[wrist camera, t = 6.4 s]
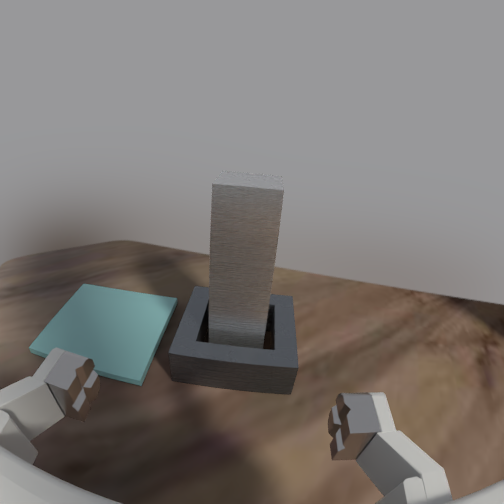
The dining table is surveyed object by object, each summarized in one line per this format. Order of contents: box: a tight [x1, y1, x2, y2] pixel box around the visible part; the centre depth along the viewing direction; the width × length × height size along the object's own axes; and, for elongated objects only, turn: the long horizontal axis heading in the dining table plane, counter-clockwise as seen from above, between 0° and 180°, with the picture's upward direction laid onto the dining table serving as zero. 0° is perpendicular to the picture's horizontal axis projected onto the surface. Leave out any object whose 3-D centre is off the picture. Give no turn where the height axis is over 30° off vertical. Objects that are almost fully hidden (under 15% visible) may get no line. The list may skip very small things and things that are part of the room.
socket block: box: [168, 286, 298, 394], centre depth 24 cm, size 9×9×3 cm
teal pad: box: [29, 284, 177, 386], centre depth 25 cm, size 11×11×1 cm
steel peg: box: [209, 171, 284, 349], centre depth 22 cm, size 4×4×14 cm
